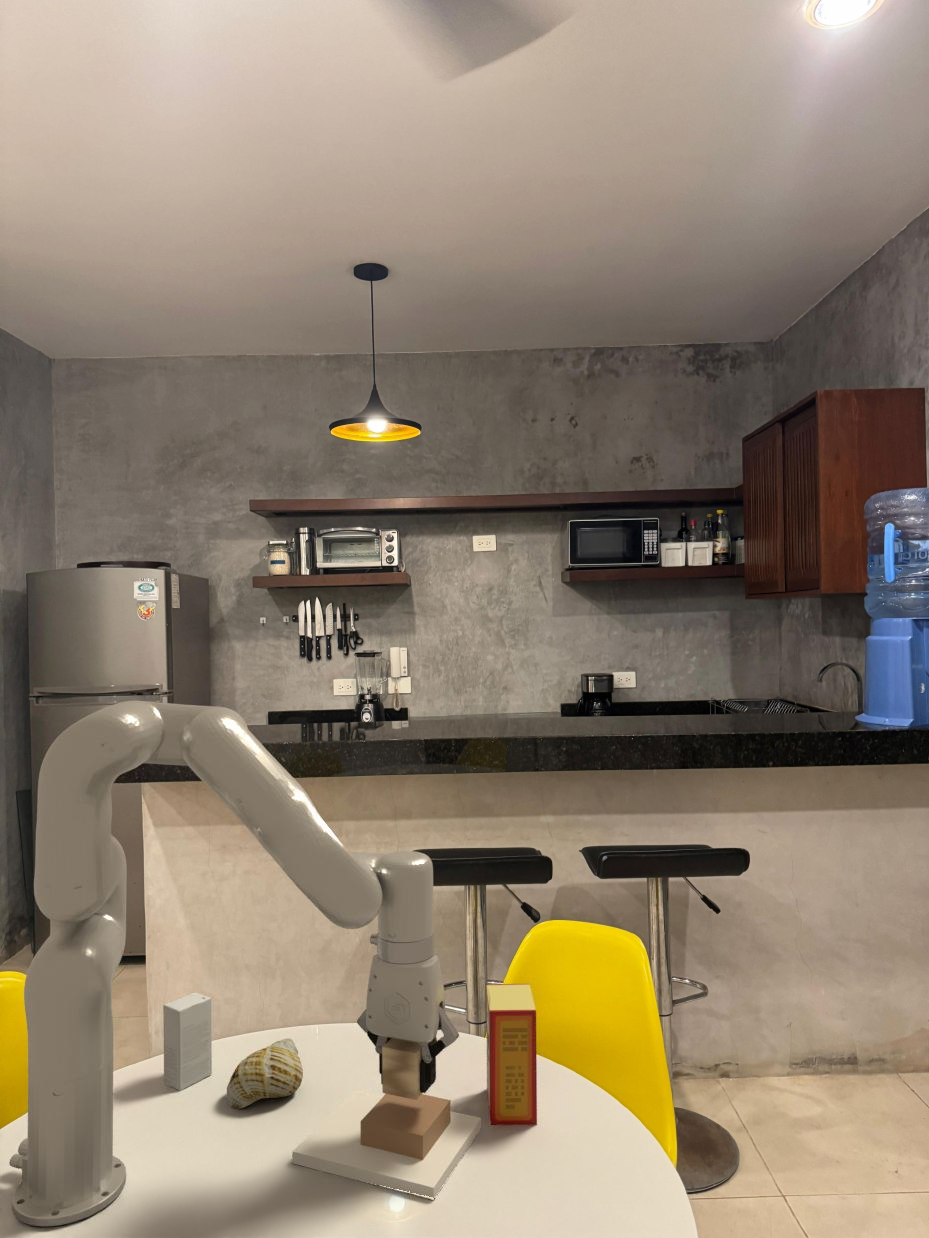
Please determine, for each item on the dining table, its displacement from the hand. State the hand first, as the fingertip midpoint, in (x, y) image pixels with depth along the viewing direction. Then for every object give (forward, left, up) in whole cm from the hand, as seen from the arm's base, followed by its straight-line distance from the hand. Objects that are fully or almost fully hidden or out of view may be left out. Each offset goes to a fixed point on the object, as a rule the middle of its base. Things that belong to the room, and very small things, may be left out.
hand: (407, 1082), depth 113 cm
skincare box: (-39, +3, -8) cm, 40 cm away
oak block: (0, 0, -1) cm, 1 cm away
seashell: (-25, +4, -9) cm, 27 cm away
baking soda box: (+10, +14, -8) cm, 19 cm away
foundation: (-2, -1, -8) cm, 8 cm away
